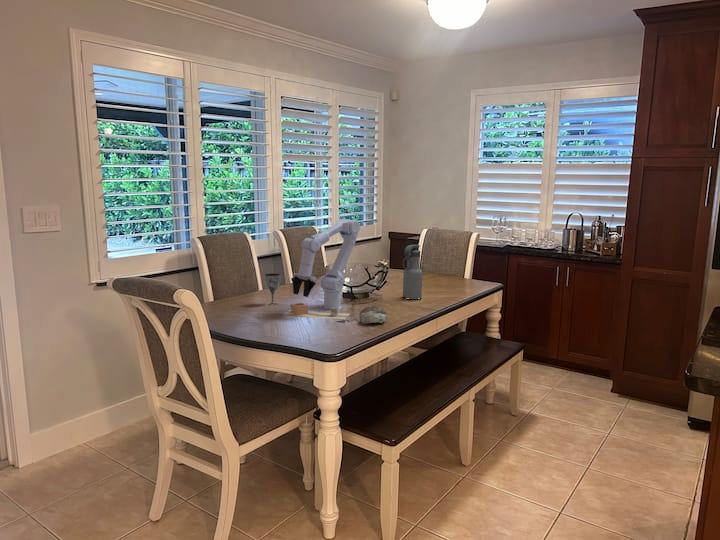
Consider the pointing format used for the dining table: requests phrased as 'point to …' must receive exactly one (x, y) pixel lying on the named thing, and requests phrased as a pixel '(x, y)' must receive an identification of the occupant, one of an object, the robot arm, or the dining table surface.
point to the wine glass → (272, 284)
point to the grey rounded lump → (372, 315)
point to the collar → (299, 309)
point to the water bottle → (412, 273)
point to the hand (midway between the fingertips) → (300, 295)
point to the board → (322, 314)
